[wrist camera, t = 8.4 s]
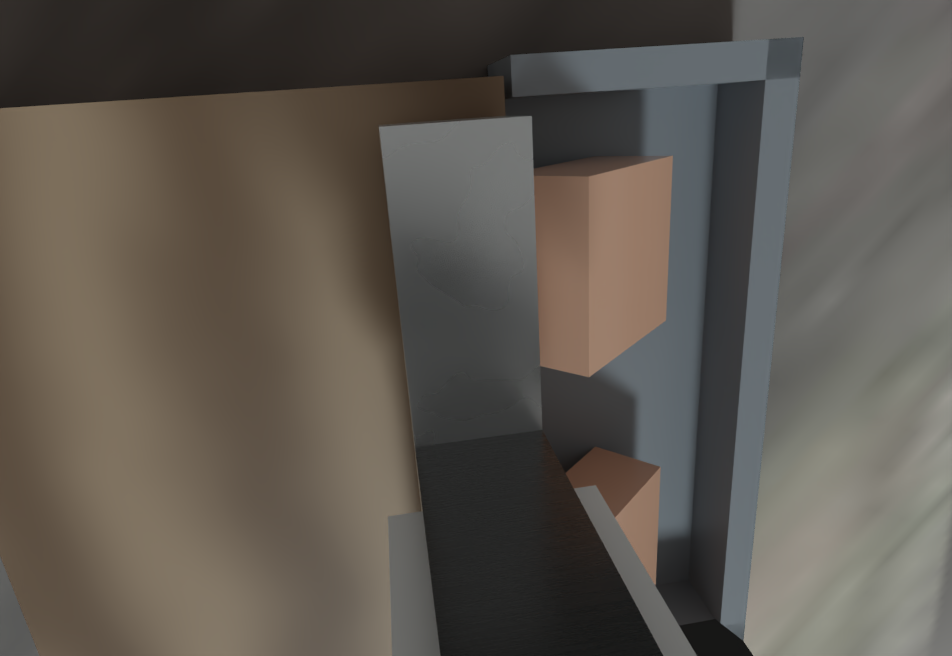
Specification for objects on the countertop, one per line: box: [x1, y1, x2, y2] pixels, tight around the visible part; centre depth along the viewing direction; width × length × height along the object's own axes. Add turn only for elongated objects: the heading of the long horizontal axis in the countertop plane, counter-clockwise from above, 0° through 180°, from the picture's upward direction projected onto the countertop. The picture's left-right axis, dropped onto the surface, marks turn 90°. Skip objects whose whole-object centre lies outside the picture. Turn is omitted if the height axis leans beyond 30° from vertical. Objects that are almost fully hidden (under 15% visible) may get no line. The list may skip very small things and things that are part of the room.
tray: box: [488, 37, 804, 640], centre depth 21 cm, size 8×21×4 cm, turn 4°
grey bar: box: [378, 116, 663, 656], centre depth 12 cm, size 3×18×12 cm, turn 4°
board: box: [0, 76, 506, 656], centre depth 20 cm, size 15×20×4 cm
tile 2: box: [534, 156, 673, 377], centre depth 17 cm, size 5×5×2 cm
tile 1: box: [566, 447, 661, 585], centre depth 21 cm, size 5×5×2 cm
